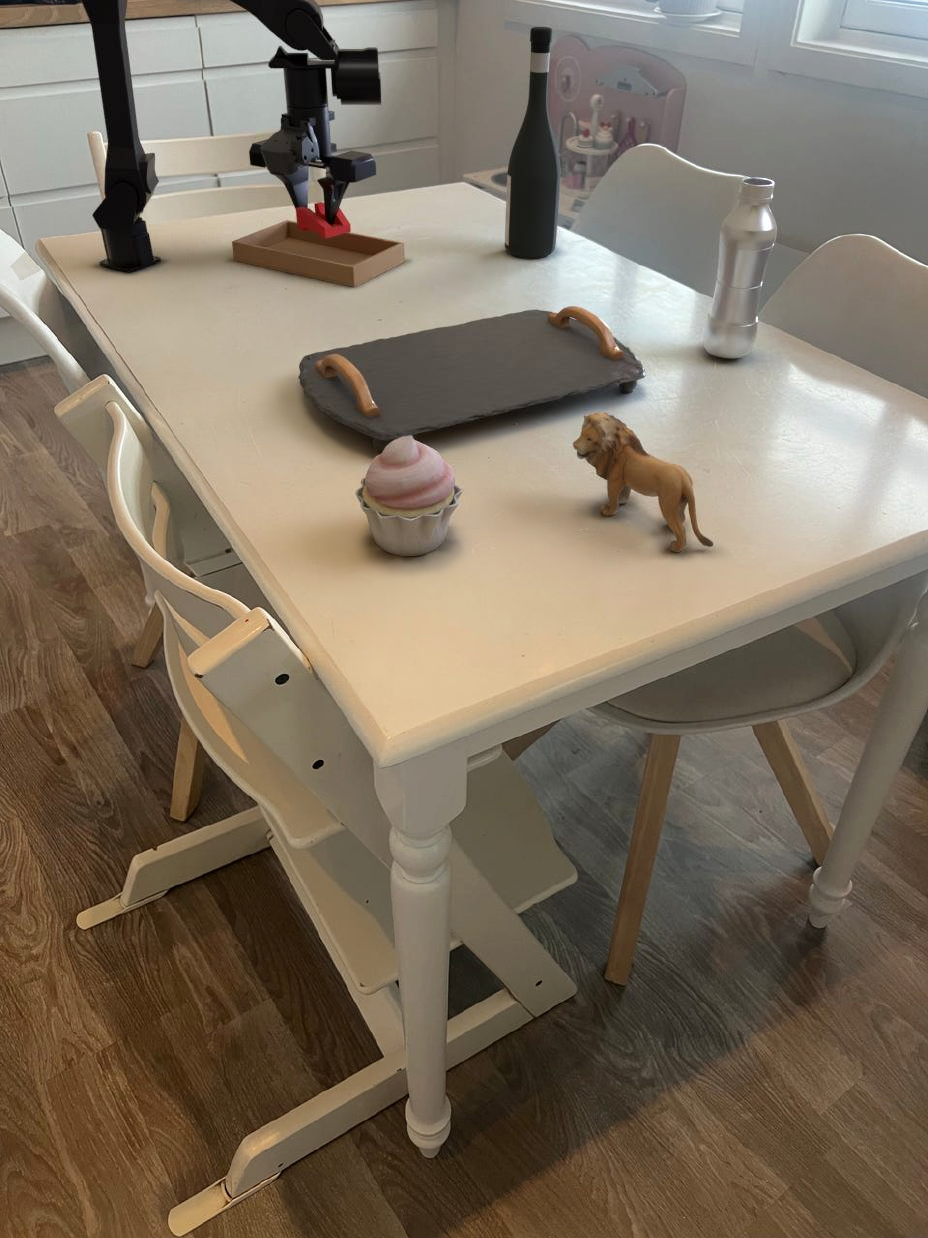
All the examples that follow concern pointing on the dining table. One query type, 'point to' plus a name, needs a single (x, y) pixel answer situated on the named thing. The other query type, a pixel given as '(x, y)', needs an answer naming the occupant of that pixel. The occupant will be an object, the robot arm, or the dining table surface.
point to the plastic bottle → (741, 271)
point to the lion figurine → (637, 473)
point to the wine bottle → (534, 165)
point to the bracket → (321, 221)
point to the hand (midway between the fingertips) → (316, 222)
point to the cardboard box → (319, 253)
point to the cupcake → (409, 497)
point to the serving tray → (466, 372)
